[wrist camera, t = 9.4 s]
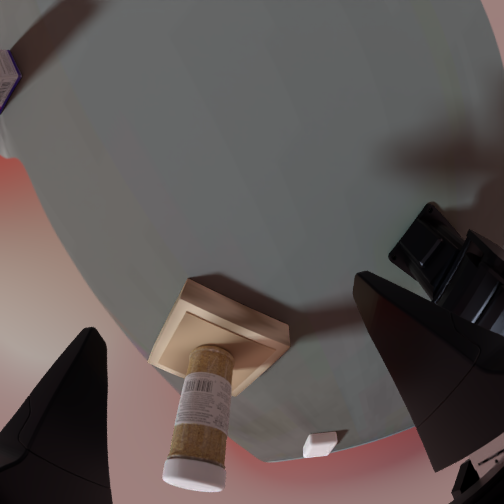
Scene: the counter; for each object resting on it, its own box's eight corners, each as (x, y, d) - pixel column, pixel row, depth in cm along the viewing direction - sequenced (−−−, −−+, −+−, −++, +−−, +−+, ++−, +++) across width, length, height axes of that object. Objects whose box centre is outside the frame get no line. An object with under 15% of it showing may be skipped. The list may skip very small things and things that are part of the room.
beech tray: (288, 324, 27) (290, 347, 24) (237, 377, 31) (235, 397, 29) (187, 278, 24) (179, 299, 22) (154, 343, 29) (146, 363, 26)
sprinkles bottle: (191, 368, 26) (166, 486, 14) (188, 340, 24) (155, 475, 12) (234, 373, 26) (224, 495, 14) (237, 346, 24) (225, 487, 12)
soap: (308, 432, 41) (309, 445, 38) (336, 429, 41) (339, 442, 38) (302, 447, 45) (302, 459, 43) (327, 444, 45) (328, 456, 43)
